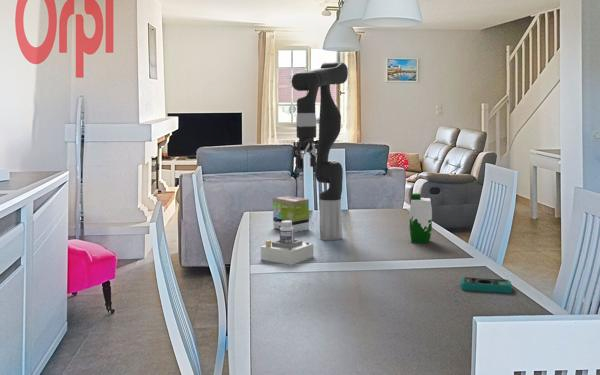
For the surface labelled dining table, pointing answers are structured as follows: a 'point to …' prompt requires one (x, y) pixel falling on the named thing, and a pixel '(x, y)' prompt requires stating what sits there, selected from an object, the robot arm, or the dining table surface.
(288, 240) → the pill bottle
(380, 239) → the dining table surface
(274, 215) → the tea box
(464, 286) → the digital multimeter
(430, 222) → the milk carton
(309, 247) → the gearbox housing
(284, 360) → the dining table surface
